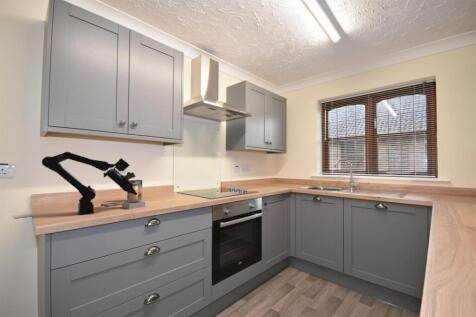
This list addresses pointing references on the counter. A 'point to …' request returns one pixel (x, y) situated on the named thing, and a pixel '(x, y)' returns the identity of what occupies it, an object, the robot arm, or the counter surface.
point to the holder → (133, 205)
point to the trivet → (112, 204)
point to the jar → (133, 197)
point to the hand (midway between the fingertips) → (136, 193)
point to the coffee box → (138, 189)
